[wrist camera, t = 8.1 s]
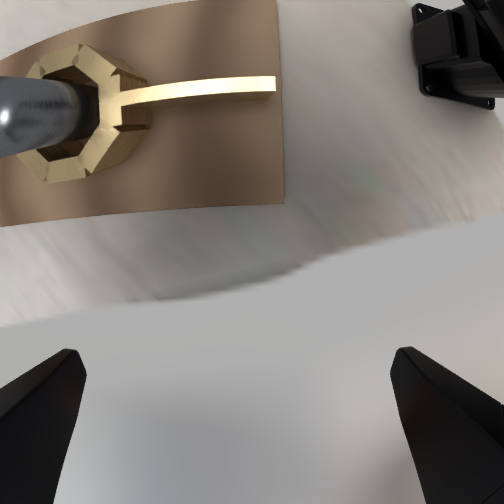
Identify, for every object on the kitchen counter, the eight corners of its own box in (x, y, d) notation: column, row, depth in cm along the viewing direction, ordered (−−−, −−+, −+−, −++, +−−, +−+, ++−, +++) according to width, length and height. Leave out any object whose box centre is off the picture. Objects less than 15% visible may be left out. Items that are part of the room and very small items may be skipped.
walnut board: (274, 2, 14) (275, -4, 13) (282, 199, 18) (284, 203, 17) (-7, 69, 14) (-15, 68, 13) (8, 222, 18) (0, 227, 17)
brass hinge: (265, 40, 14) (271, 13, 10) (270, 151, 16) (277, 160, 12) (-10, 102, 14) (-54, 106, 10) (-2, 187, 16) (-44, 205, 12)
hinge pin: (122, 83, 14) (23, 64, 6) (125, 131, 16) (27, 149, 7) (79, 94, 14) (-31, 91, 6) (82, 139, 16) (-26, 167, 7)
